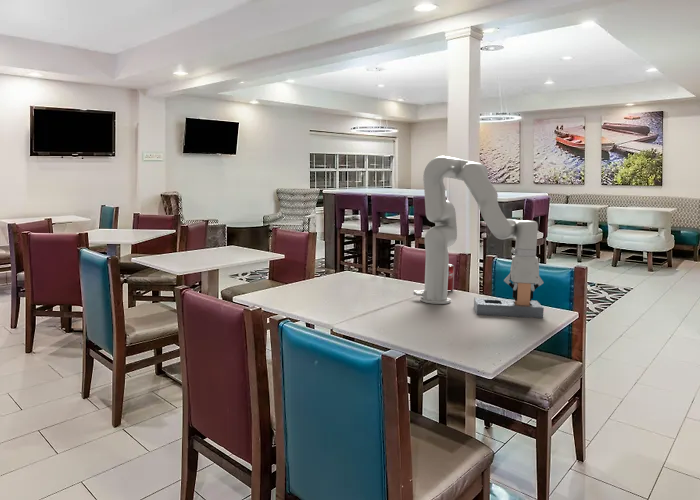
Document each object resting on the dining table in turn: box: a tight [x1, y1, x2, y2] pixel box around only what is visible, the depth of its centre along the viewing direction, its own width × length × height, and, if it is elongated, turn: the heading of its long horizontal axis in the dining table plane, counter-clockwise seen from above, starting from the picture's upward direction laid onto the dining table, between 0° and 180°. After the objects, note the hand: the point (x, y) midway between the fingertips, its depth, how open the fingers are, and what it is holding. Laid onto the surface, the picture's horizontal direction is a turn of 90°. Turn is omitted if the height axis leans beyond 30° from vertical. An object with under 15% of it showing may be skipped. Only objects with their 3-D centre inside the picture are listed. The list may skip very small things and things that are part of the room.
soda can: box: [448, 263, 455, 291], centre depth 236 cm, size 7×7×12 cm
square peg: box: [515, 283, 531, 305], centre depth 194 cm, size 5×5×12 cm
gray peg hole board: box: [473, 297, 545, 319], centre depth 195 cm, size 24×12×4 cm, turn 82°
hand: (522, 299), depth 194 cm, fingers closed on square peg, 4 cm apart
